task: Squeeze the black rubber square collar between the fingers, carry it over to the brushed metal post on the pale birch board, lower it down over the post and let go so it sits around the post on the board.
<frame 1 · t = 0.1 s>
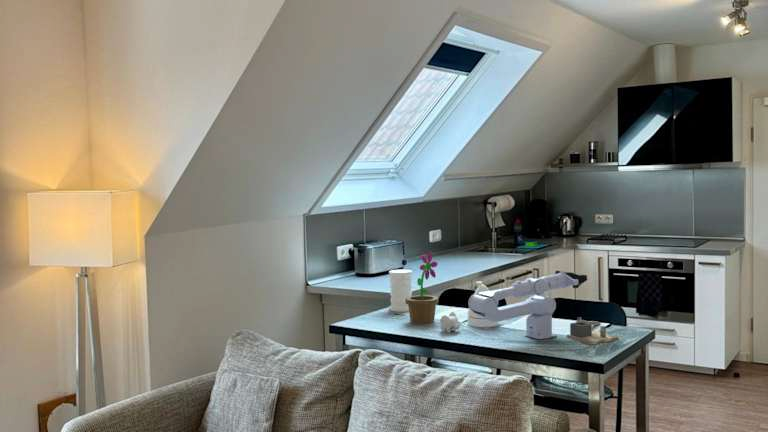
hand: (579, 276, 294), 22 cm above the table, tool horizontal, fingers open, 7 cm apart
elephant figurine: (450, 331, 299), on the table
flowerpot: (422, 322, 319), on the table
honey pot: (483, 324, 312), on the table
caliper: (588, 329, 298), on the table
collar: (580, 335, 282), point 1 cm above the table, touching post board
decorative container: (401, 309, 346), on the table
post board: (592, 338, 281), on the table
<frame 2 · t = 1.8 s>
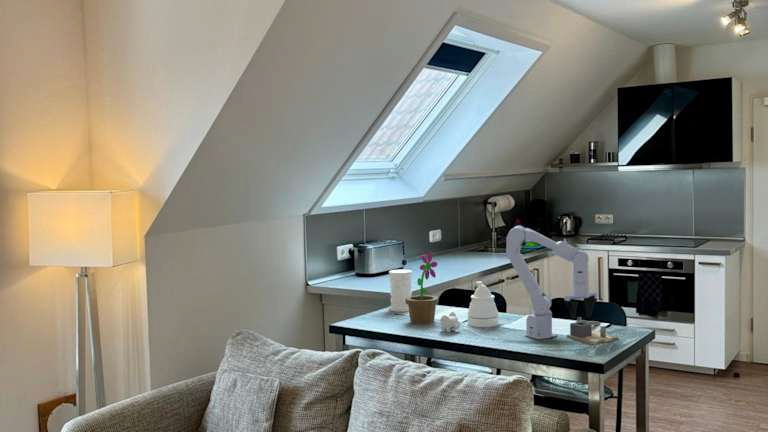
hand: (581, 317, 282), 8 cm above the table, tool pointing down, fingers open, 7 cm apart
nothing on the table moved.
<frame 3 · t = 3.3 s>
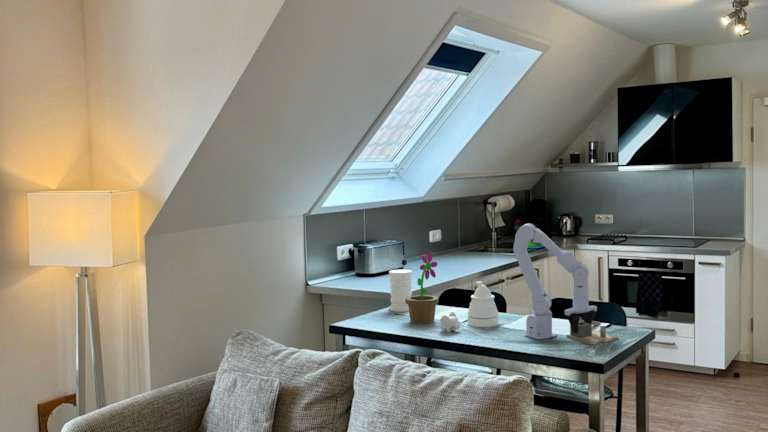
hand: (580, 331, 282), 2 cm above the table, tool pointing down, fingers closed on collar, 6 cm apart
collar: (580, 335, 282), point 1 cm above the table, touching gripper, post board
everything else where it was.
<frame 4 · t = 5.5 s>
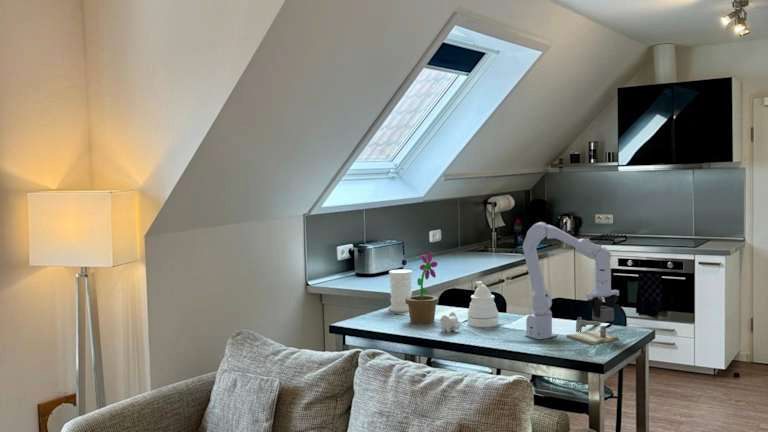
hand: (603, 316, 278), 9 cm above the table, tool pointing down, fingers closed on collar, 6 cm apart
collar: (603, 319, 279), point 8 cm above the table, touching gripper
everything else where it was.
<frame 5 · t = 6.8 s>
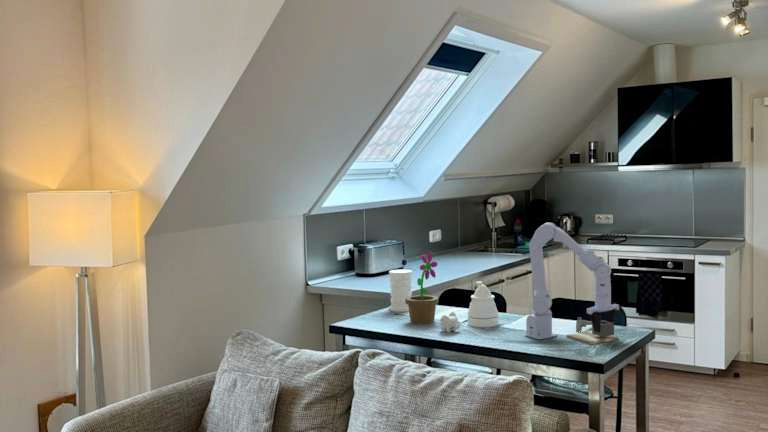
hand: (603, 330, 279), 3 cm above the table, tool pointing down, fingers closed on collar, 6 cm apart
collar: (603, 334, 279), point 2 cm above the table, touching gripper
everything else where it was.
when the fingers open (3 cm above the table, at t = 7.9 s): collar drops 1 cm, resting on post board.
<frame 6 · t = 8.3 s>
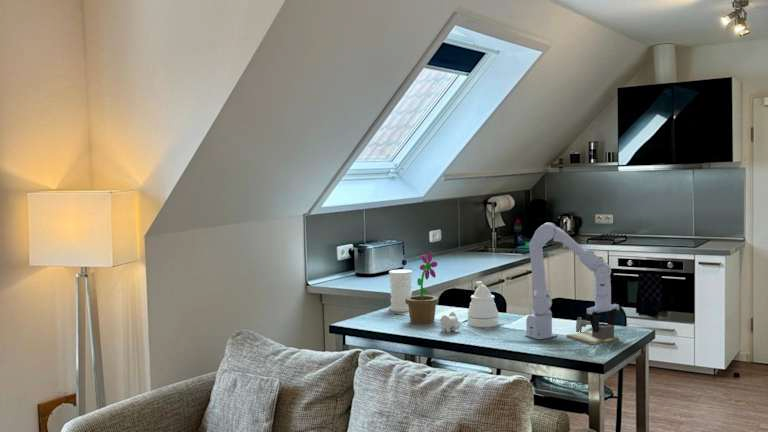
hand: (603, 330, 279), 3 cm above the table, tool pointing down, fingers open, 7 cm apart
collar: (603, 336, 279), point 1 cm above the table, touching post board
everything else where it was.
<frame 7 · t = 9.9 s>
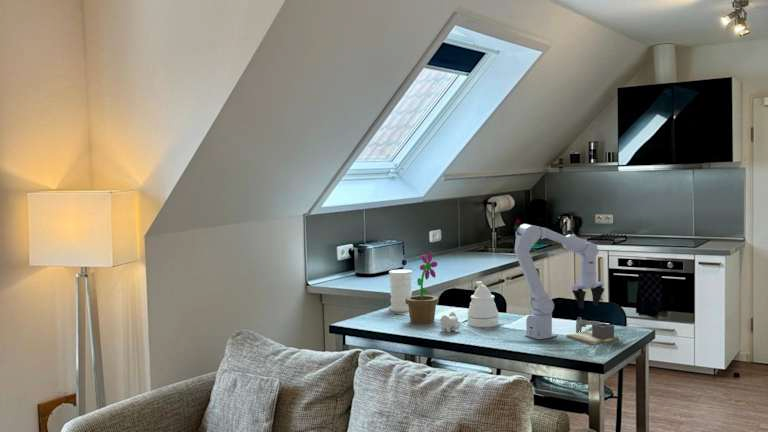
hand: (588, 306, 289), 10 cm above the table, tool pointing down, fingers open, 7 cm apart
nothing on the table moved.
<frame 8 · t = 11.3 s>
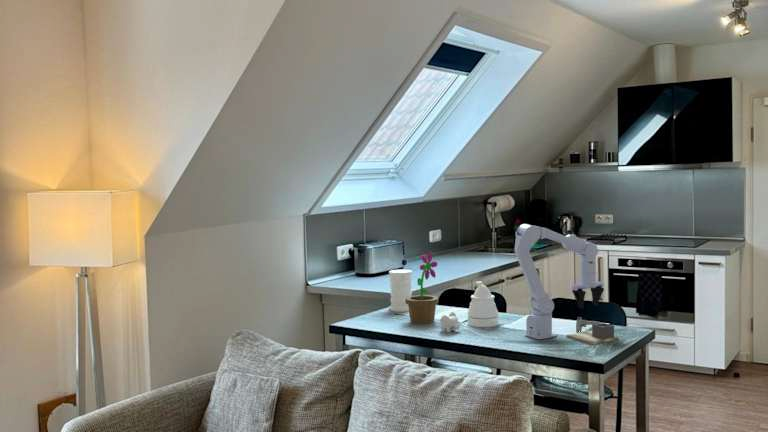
hand: (588, 306, 289), 10 cm above the table, tool pointing down, fingers open, 7 cm apart
nothing on the table moved.
at the end: collar 0.0 cm from the target spot on the post board, point 1.0 cm above the post board's base; collar tilted 0°; the gripper is holding nothing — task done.
